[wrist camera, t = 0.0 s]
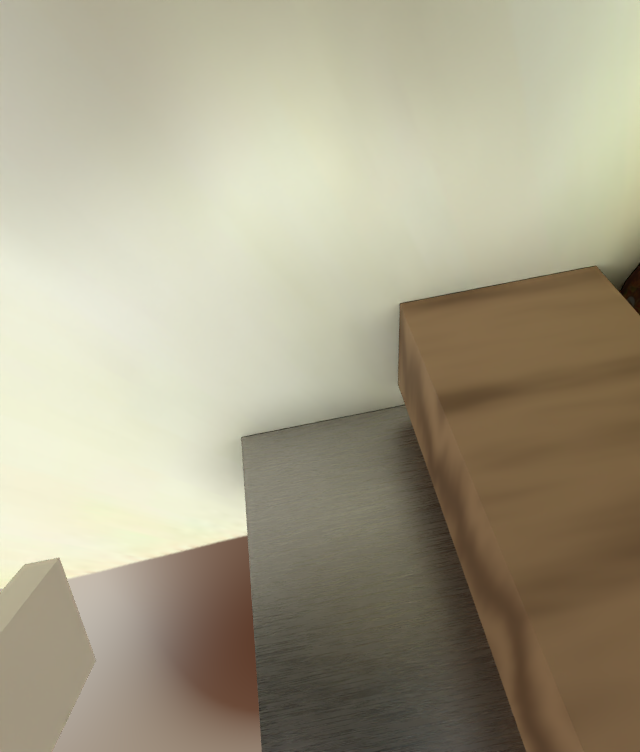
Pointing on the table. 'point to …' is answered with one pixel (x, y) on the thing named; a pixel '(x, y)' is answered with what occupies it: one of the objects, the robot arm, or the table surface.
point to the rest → (363, 598)
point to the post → (540, 489)
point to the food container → (633, 290)
